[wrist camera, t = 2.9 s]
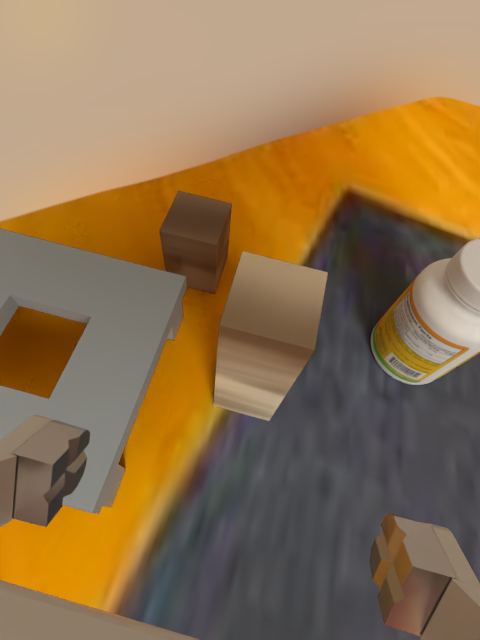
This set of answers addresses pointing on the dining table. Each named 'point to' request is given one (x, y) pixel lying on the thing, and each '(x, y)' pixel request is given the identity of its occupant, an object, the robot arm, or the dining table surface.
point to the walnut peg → (196, 239)
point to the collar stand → (91, 346)
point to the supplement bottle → (433, 321)
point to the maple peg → (266, 333)
